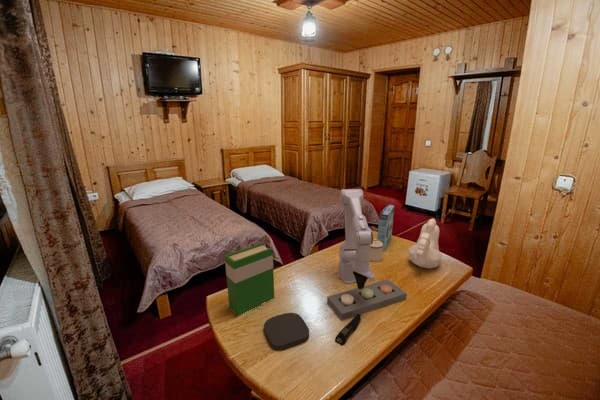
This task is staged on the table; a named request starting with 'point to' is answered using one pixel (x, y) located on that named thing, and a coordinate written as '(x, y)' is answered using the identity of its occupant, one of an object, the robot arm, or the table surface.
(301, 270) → the table surface
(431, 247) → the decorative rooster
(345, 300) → the cream button
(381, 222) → the gum box
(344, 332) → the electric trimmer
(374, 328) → the table surface
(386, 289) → the terracotta button
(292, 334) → the media streaming box
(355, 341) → the table surface
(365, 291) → the sage button
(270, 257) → the hardback book
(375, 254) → the teacup with lid
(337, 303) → the button panel
